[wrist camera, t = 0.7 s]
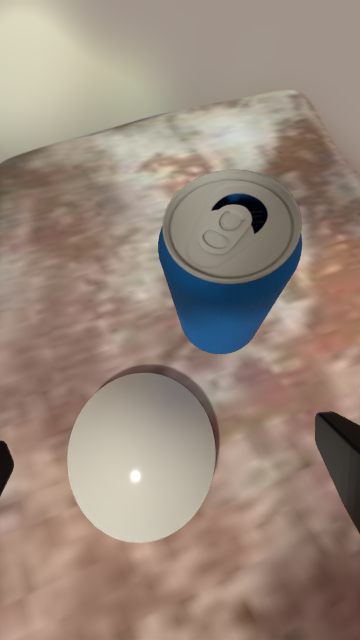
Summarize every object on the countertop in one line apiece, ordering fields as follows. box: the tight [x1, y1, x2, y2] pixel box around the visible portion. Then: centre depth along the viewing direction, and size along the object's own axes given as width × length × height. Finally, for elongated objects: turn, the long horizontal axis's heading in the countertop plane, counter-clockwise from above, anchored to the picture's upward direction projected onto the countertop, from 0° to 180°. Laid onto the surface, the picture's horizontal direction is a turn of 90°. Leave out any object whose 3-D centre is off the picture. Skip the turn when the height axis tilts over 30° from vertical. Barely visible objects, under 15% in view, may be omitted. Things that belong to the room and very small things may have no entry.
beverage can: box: [158, 170, 302, 354], centre depth 16 cm, size 6×6×12 cm
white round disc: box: [67, 373, 216, 543], centre depth 18 cm, size 11×11×1 cm
